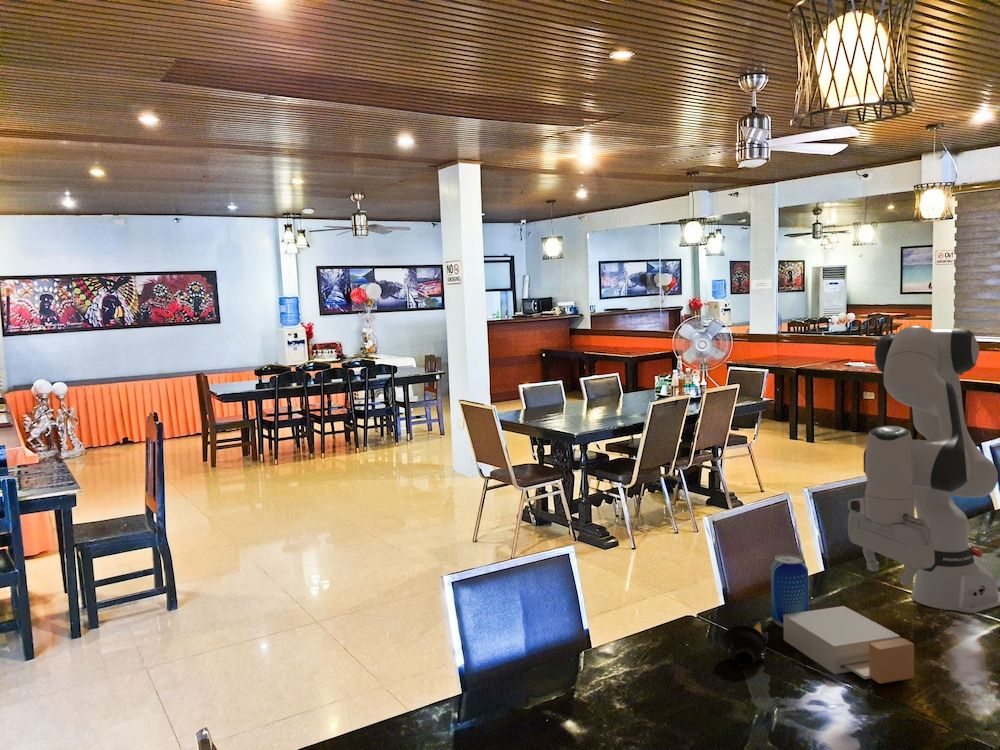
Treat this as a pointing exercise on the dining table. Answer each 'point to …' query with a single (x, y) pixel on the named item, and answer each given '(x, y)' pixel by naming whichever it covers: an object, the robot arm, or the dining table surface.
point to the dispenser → (834, 636)
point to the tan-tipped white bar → (887, 661)
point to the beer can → (788, 587)
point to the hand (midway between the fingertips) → (889, 577)
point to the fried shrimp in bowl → (745, 643)
